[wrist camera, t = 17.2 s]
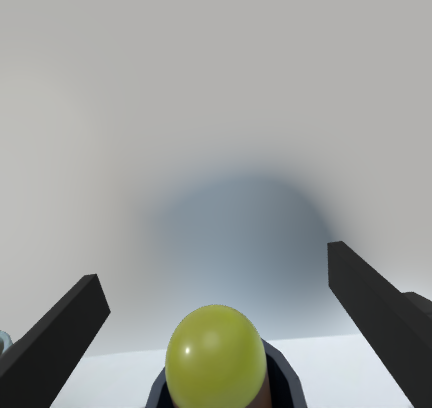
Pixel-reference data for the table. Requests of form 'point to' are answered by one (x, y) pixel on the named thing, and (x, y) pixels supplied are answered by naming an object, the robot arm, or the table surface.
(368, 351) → the table surface
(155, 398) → the tube
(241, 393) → the peg
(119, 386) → the table surface
